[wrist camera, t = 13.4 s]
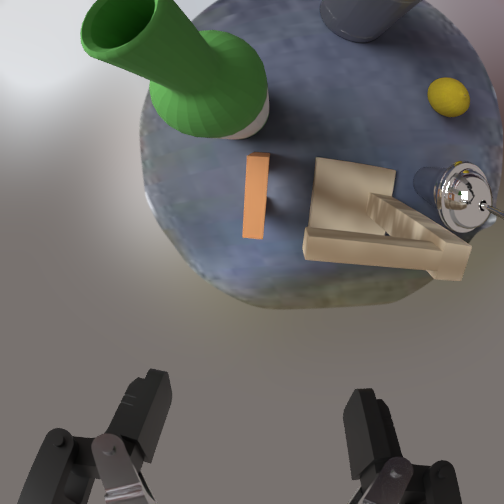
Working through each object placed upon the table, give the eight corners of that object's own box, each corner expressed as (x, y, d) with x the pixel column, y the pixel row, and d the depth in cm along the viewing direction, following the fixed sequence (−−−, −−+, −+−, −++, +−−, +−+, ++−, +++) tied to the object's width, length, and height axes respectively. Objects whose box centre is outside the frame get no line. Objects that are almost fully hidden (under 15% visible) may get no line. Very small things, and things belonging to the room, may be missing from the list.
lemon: (422, 118, 30) (453, 116, 23) (414, 81, 28) (443, 72, 21) (450, 117, 29) (483, 117, 22) (443, 82, 27) (474, 75, 20)
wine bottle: (235, 72, 30) (133, -83, 3) (282, 107, 32) (322, -17, 4) (197, 115, 33) (1, 81, 5) (242, 151, 34) (126, 197, 7)
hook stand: (292, 154, 34) (317, 169, 16) (392, 169, 34) (486, 204, 15) (285, 227, 38) (296, 313, 20) (380, 237, 37) (450, 317, 19)
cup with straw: (445, 152, 31) (545, 177, 13) (447, 211, 35) (535, 265, 16) (399, 154, 33) (497, 177, 14) (402, 216, 36) (486, 281, 17)
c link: (254, 151, 34) (247, 155, 25) (270, 152, 34) (269, 157, 25) (250, 211, 37) (242, 237, 28) (265, 212, 37) (262, 239, 28)
